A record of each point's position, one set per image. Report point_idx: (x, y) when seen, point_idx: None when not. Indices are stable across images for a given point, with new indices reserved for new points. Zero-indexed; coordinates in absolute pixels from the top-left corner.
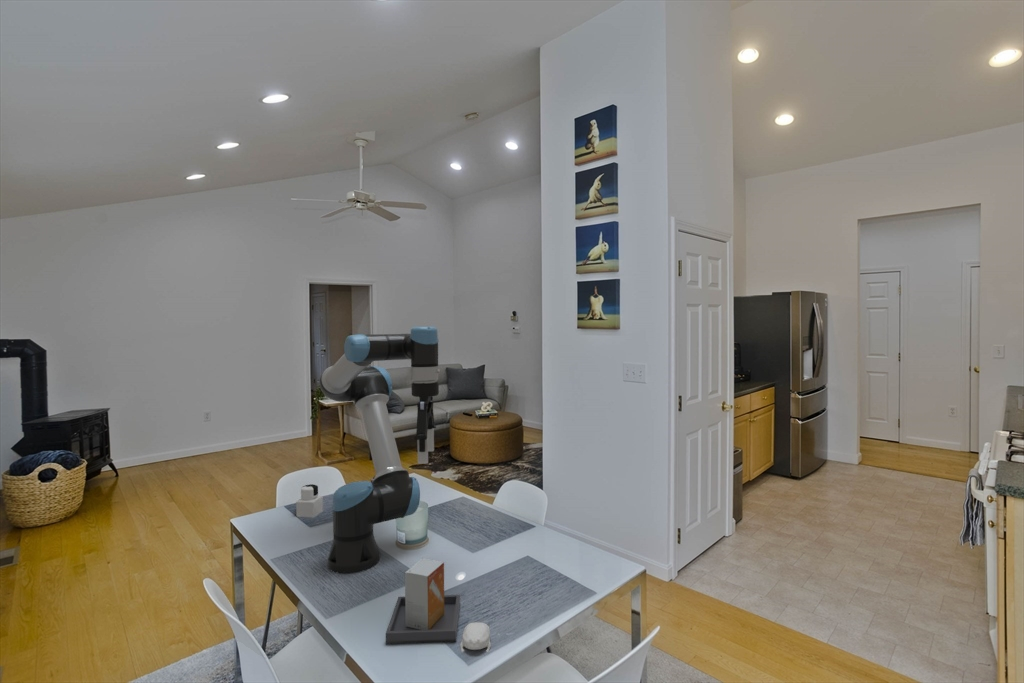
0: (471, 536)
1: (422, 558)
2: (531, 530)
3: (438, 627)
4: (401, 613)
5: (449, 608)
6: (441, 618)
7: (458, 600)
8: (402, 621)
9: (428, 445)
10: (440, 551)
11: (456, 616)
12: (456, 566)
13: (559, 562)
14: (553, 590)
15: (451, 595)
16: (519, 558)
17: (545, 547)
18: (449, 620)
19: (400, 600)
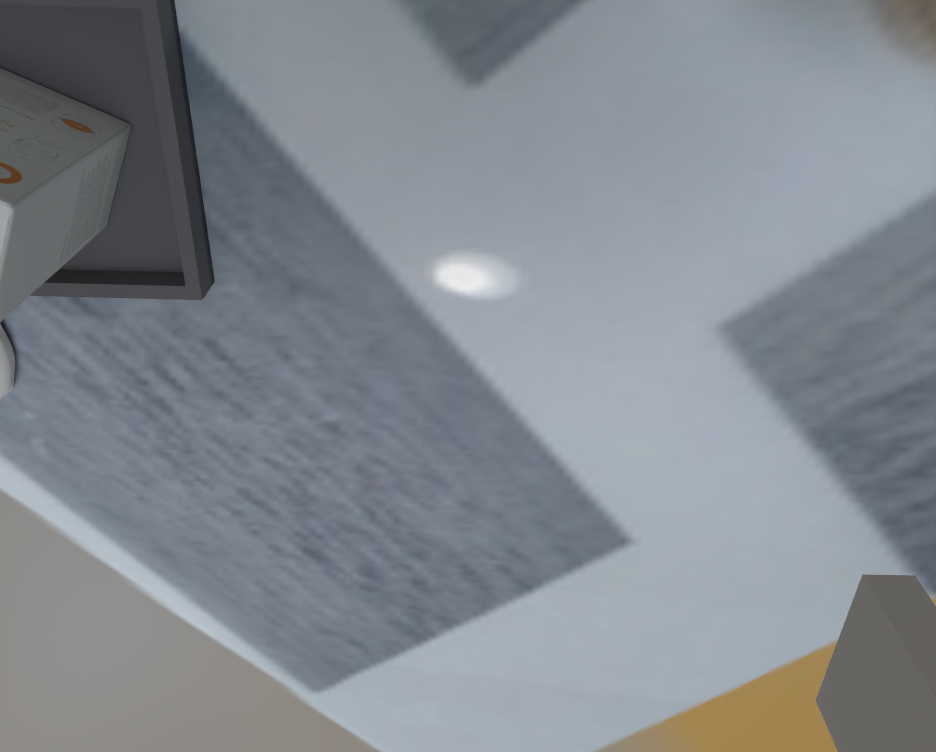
0: (932, 317)
1: (5, 205)
2: None
3: None
4: (84, 17)
5: (154, 244)
6: None
7: (150, 295)
8: (15, 34)
9: (897, 739)
10: (784, 155)
11: None
12: (577, 252)
13: (544, 631)
14: (331, 591)
15: (192, 263)
16: (608, 512)
17: (690, 605)
18: None
19: (120, 7)
